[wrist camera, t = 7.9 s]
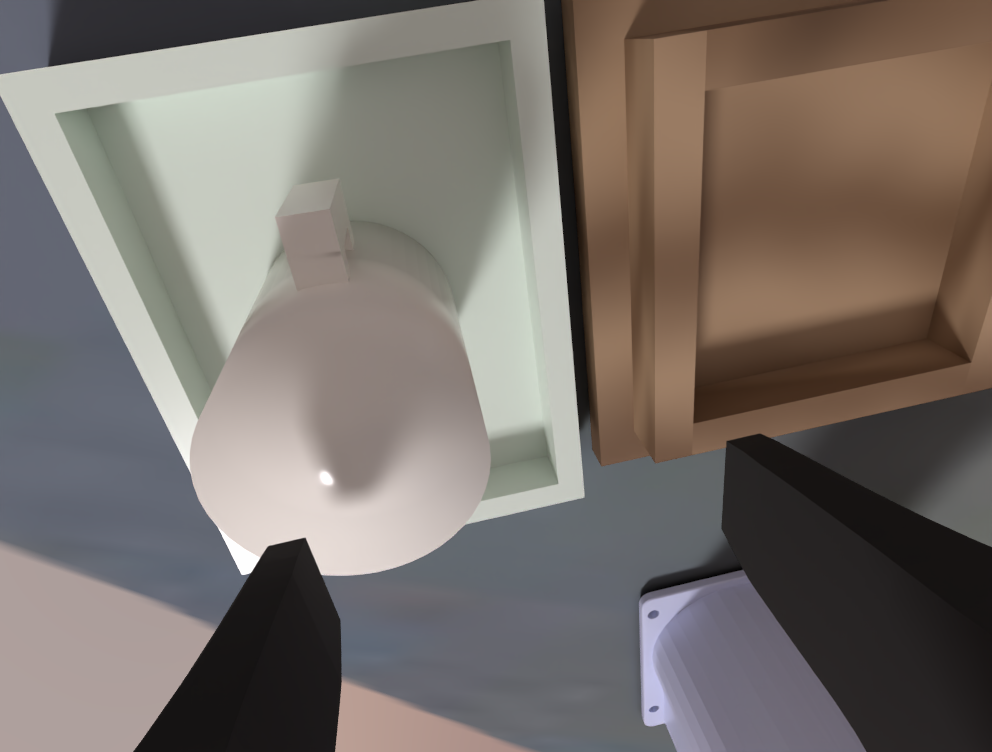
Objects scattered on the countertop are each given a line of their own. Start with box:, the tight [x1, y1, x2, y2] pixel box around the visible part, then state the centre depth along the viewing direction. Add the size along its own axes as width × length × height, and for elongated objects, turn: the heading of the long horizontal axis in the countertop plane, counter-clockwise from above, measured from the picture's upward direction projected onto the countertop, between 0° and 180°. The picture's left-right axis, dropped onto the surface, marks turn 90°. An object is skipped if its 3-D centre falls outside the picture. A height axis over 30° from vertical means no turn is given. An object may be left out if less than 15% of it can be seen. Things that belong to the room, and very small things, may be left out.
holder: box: [561, 0, 992, 466], centre depth 17 cm, size 14×14×3 cm
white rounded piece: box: [190, 179, 491, 576], centre depth 13 cm, size 7×5×7 cm
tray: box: [0, 0, 584, 575], centre depth 17 cm, size 14×11×2 cm
